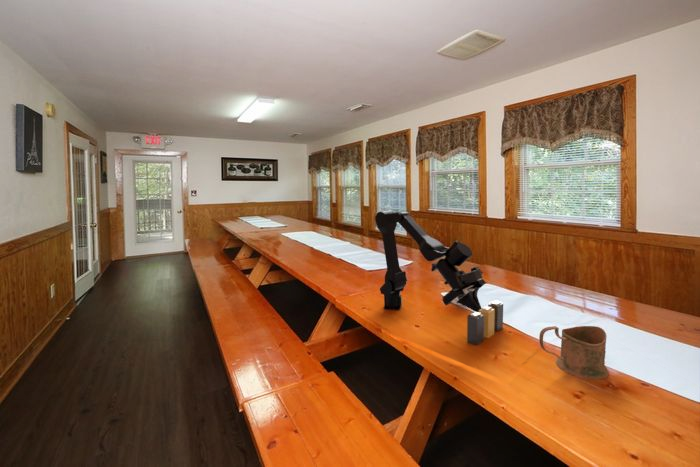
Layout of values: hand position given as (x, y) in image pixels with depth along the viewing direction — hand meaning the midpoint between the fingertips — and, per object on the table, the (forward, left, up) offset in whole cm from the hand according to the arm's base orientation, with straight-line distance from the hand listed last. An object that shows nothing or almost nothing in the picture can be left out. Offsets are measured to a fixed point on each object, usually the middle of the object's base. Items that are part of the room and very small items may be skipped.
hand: (481, 313), depth 109 cm
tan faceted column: (+1, -1, -7) cm, 7 cm away
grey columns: (-3, +2, -8) cm, 8 cm away
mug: (+21, -16, -8) cm, 27 cm away
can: (-4, +28, -8) cm, 29 cm away
